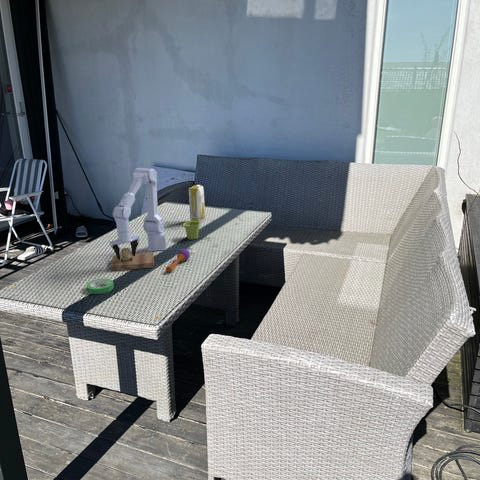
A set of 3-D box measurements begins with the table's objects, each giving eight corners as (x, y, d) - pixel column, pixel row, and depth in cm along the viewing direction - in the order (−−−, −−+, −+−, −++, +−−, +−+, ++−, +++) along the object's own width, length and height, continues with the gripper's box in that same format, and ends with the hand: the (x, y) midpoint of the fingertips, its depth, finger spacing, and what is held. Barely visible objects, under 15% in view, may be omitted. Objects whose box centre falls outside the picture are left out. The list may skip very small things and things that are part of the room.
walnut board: (153, 257, 233) (153, 252, 232) (153, 267, 220) (153, 262, 219) (113, 260, 230) (112, 255, 229) (111, 271, 217) (110, 266, 216)
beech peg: (129, 262, 227) (127, 247, 224) (132, 264, 224) (130, 249, 221) (121, 264, 225) (119, 248, 222) (124, 266, 222) (122, 251, 219)
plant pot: (181, 239, 259) (180, 225, 256) (189, 234, 267) (188, 220, 264) (196, 241, 255) (195, 226, 252) (203, 236, 263) (202, 222, 261)
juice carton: (201, 224, 285) (199, 186, 278) (189, 223, 288) (187, 186, 280) (206, 220, 294) (204, 183, 286) (194, 219, 296) (192, 183, 288)
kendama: (161, 264, 213) (179, 247, 231) (165, 276, 215) (182, 258, 233) (172, 263, 211) (189, 246, 229) (176, 275, 213) (192, 257, 231)
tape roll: (88, 296, 192) (88, 290, 191) (86, 286, 201) (85, 280, 200) (115, 291, 196) (115, 285, 195) (111, 282, 205) (111, 276, 205)
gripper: (134, 226, 226) (136, 251, 230) (105, 231, 218) (108, 258, 222) (140, 229, 220) (142, 255, 225) (111, 235, 212) (114, 262, 217)
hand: (126, 257), depth 223 cm, fingers open, 7 cm apart
